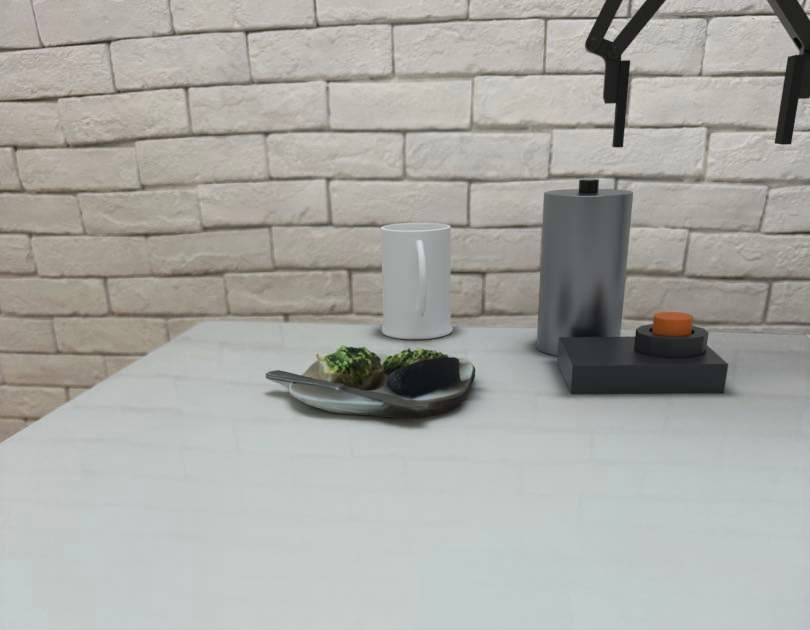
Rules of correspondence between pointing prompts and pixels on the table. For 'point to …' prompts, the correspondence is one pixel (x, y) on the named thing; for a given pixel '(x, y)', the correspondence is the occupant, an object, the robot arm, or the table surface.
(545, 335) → the grey canister
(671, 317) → the kettle button
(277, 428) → the table surface
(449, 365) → the salad plate
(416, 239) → the mug
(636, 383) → the dark grey button base
